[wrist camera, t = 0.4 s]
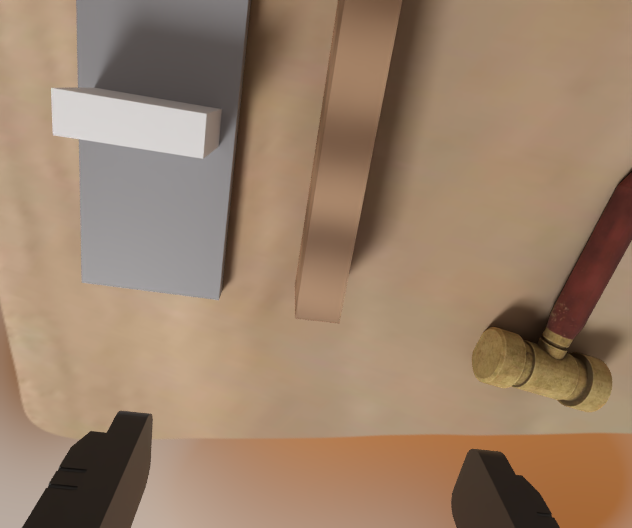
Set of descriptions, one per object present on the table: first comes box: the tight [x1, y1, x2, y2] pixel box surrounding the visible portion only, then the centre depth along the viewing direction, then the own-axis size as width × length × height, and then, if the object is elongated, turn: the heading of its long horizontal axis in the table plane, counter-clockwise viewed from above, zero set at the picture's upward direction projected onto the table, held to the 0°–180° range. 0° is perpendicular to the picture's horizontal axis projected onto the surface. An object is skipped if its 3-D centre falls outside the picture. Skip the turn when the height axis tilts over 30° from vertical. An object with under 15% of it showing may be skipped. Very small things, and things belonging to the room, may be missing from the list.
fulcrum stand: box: [51, 0, 251, 300], centre depth 28 cm, size 25×10×7 cm, turn 171°
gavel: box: [472, 172, 632, 412], centre depth 36 cm, size 21×5×10 cm
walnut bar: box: [295, 0, 402, 323], centre depth 29 cm, size 24×3×6 cm, turn 171°
